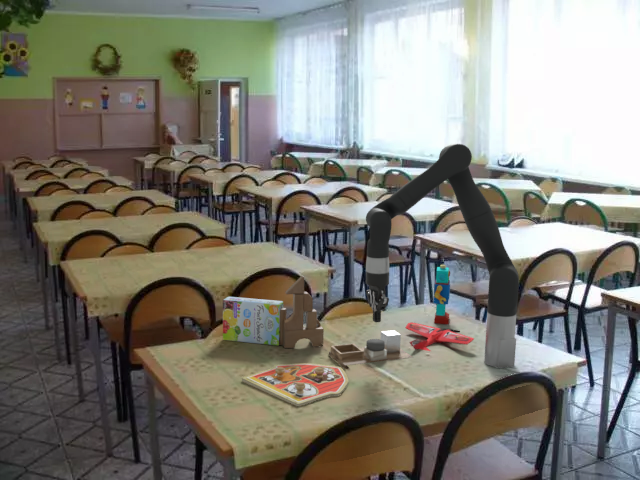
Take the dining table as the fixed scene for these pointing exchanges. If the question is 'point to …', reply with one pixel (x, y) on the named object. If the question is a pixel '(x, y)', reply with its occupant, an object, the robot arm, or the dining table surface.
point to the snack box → (251, 320)
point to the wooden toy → (300, 319)
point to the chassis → (362, 355)
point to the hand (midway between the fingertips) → (376, 321)
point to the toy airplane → (435, 336)
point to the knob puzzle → (300, 382)
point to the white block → (391, 340)
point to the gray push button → (375, 344)
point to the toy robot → (441, 294)
